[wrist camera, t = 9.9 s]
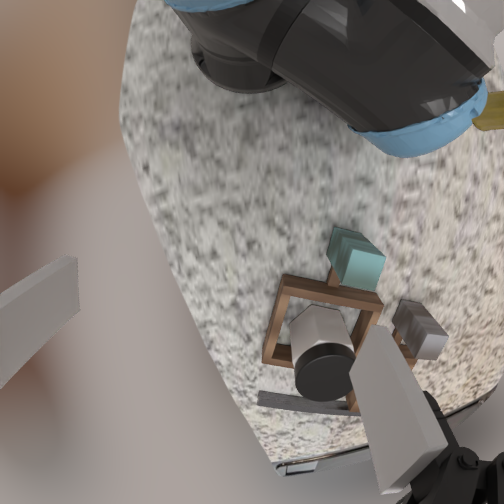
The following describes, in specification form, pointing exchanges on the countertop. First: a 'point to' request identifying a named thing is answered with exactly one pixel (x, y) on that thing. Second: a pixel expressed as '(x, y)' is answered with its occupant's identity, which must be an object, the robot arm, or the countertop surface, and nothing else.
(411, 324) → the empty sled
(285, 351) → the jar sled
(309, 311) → the jar
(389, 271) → the countertop surface
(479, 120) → the vase
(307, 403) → the end bar
